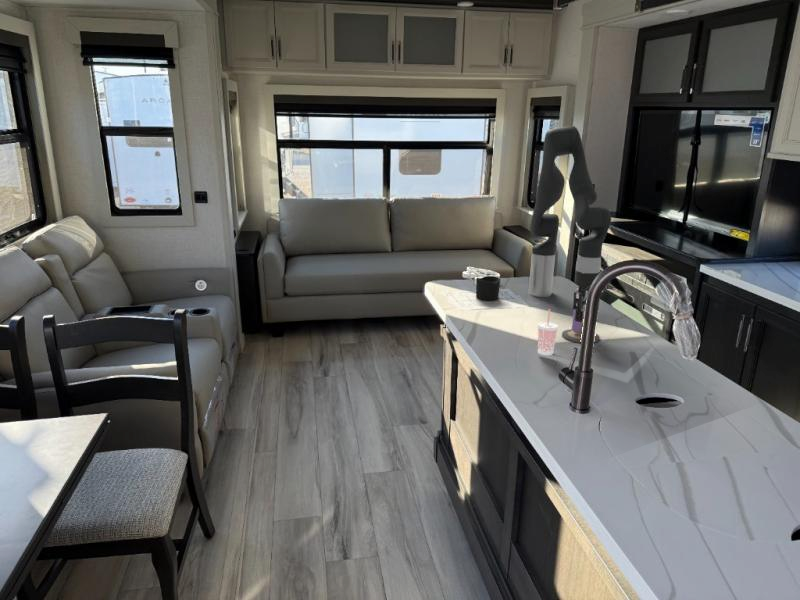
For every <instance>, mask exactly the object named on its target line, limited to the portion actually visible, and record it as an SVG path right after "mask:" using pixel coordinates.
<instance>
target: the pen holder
mask: <svg viewBox="0 0 800 600" xmlns="http://www.w3.org/2000/svg"><path fill="white" fill-rule="evenodd" d="M475 285H476V287H475V288H476V290H475V298H476V299H477V300H479V301H483V302H496V301H497V300H499V295H500V285H501V278H498V277H494V276H489V275H487V276H486V277H483V278H476V284H475Z"/></svg>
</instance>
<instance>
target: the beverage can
mask: <svg viewBox="0 0 800 600" xmlns="http://www.w3.org/2000/svg"><path fill="white" fill-rule="evenodd" d="M578 289H579V286H577V287H576V289H575V292H578ZM587 292H588V291H586V295H585V298H586V297H587ZM585 298H582V301H585ZM578 306H579V305H578ZM584 311H585V306H584V310H583V319H584ZM572 315H573V316H572V322H571V323H572V325H571V329H572V331H573V332H574V333H576V334H582V327H583V319H582V322H577V321H575V315H576V310H574V309H573V313H572Z"/></svg>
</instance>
